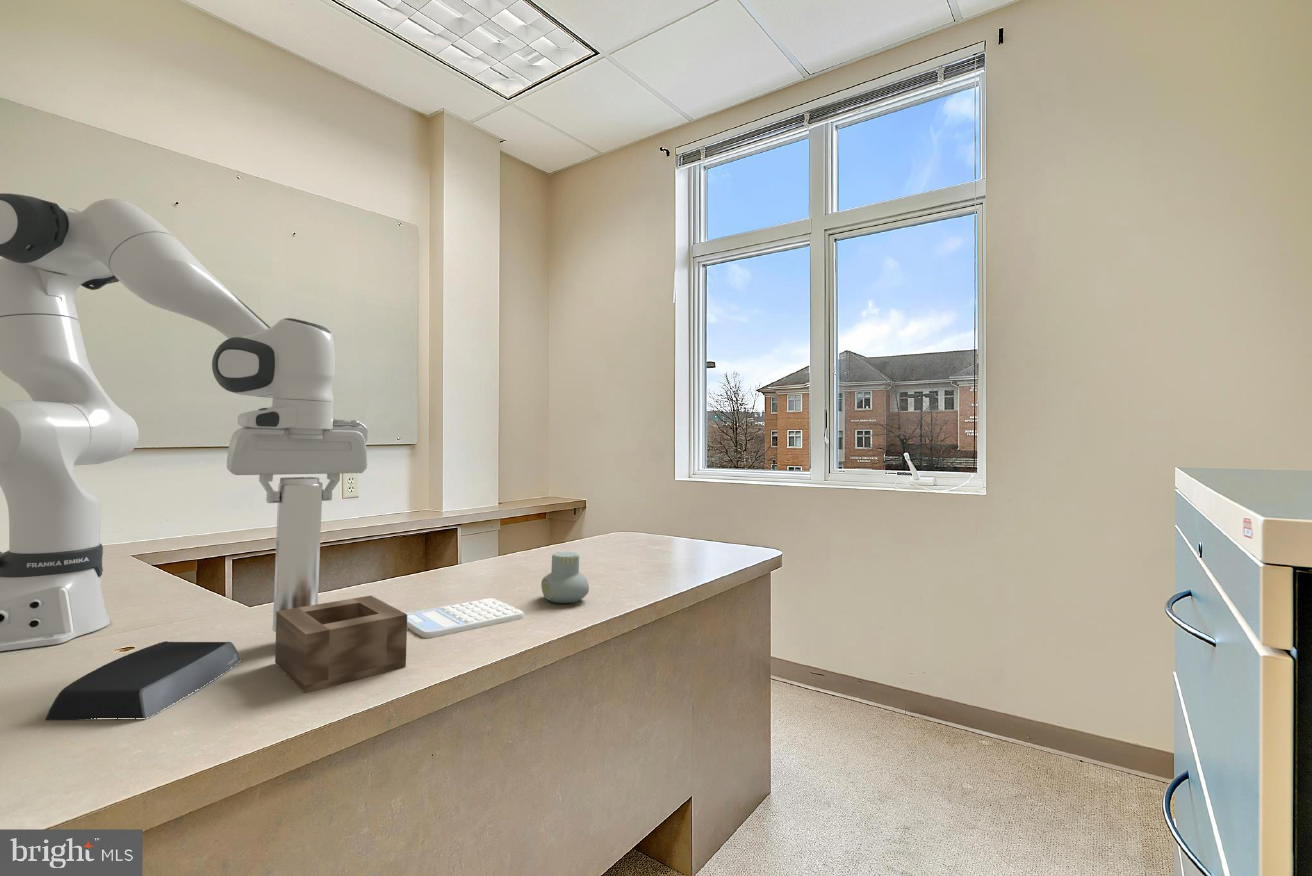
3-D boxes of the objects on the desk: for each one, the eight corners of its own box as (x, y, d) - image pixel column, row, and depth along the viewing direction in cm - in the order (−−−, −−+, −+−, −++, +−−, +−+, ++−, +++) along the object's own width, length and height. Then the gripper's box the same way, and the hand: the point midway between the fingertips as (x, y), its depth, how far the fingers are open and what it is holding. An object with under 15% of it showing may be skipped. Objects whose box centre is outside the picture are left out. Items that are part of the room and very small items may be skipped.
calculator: (525, 620, 119) (526, 610, 119) (424, 642, 106) (425, 631, 106) (492, 604, 129) (492, 595, 129) (396, 622, 115) (396, 612, 115)
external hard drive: (247, 663, 94) (247, 637, 94) (151, 724, 74) (151, 690, 74) (157, 663, 93) (158, 636, 93) (37, 724, 74) (38, 690, 74)
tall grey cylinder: (302, 634, 98) (309, 479, 98) (263, 632, 98) (269, 477, 98) (325, 621, 105) (331, 476, 104) (288, 620, 105) (293, 474, 104)
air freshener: (538, 595, 135) (539, 550, 135) (573, 592, 139) (574, 548, 139) (554, 608, 126) (555, 560, 126) (591, 604, 130) (593, 557, 130)
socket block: (304, 692, 83) (305, 634, 83) (275, 663, 93) (276, 611, 93) (405, 666, 93) (407, 614, 93) (369, 642, 103) (371, 595, 103)
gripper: (361, 420, 111) (358, 496, 111) (225, 414, 96) (222, 502, 96) (375, 421, 106) (371, 500, 106) (235, 415, 92) (232, 507, 92)
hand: (299, 501), depth 101 cm, fingers closed on tall grey cylinder, 6 cm apart
